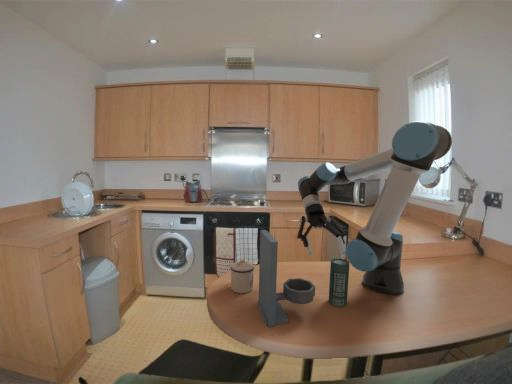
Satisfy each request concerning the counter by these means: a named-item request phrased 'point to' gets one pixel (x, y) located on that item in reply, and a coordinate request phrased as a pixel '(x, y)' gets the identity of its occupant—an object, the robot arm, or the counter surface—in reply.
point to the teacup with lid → (242, 276)
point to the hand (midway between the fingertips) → (327, 253)
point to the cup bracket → (268, 298)
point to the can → (339, 282)
